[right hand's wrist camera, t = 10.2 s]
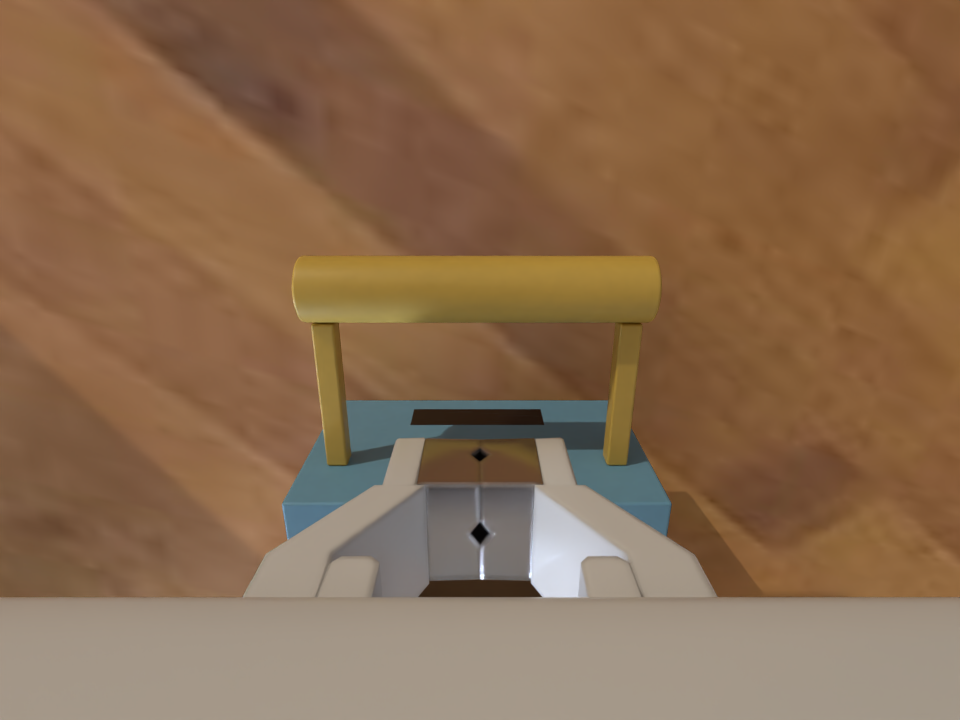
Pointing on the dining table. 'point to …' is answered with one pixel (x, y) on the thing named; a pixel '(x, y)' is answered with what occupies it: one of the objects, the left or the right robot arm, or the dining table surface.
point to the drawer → (378, 424)
